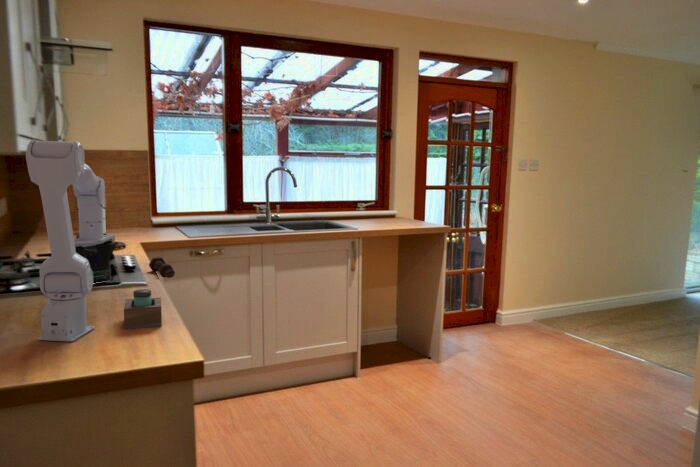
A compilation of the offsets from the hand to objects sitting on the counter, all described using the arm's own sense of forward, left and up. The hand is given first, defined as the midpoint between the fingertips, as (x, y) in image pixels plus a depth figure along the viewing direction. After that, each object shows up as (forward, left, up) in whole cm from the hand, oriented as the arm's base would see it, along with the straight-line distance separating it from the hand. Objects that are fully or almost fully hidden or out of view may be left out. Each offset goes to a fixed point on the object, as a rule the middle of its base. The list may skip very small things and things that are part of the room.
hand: (92, 271), depth 137 cm
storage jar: (+28, +15, -10) cm, 33 cm away
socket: (-10, -18, -10) cm, 23 cm away
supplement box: (+122, +65, -10) cm, 139 cm away
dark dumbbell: (+41, -3, -10) cm, 42 cm away
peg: (-10, -18, -9) cm, 22 cm away
